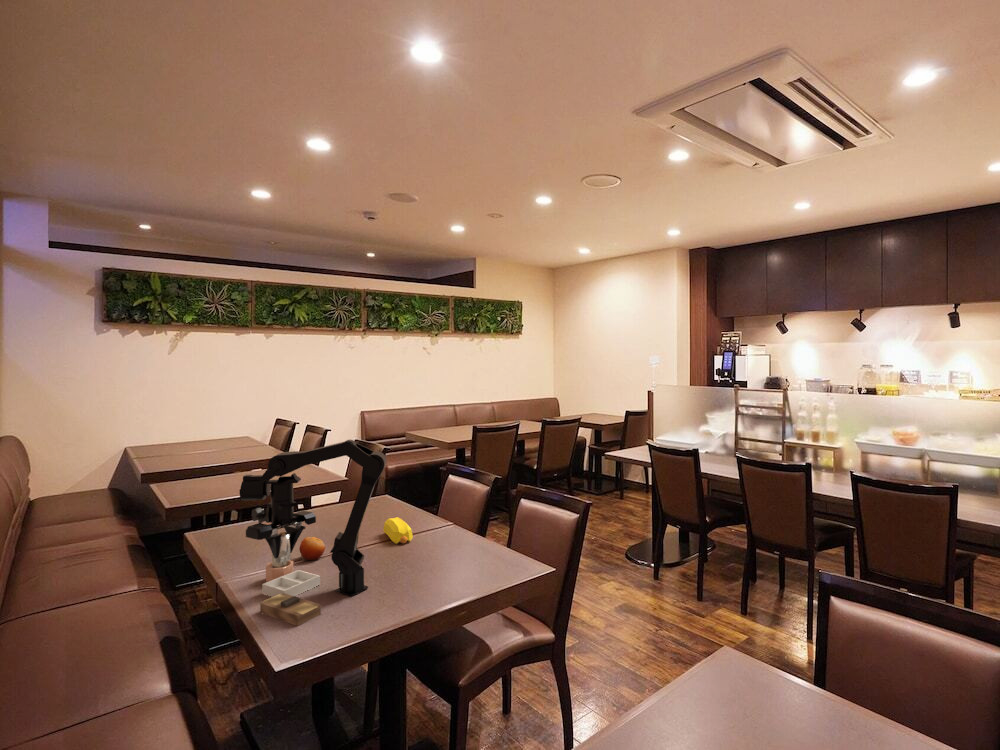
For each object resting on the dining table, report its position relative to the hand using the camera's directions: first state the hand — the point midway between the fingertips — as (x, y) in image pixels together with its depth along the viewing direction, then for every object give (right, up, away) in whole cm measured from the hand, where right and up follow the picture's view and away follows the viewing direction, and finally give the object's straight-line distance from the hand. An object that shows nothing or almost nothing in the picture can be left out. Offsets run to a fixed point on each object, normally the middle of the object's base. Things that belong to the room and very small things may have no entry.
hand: (282, 555), depth 146 cm
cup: (-5, -10, +10) cm, 15 cm away
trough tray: (+1, -11, +3) cm, 11 cm away
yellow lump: (+22, -11, +49) cm, 54 cm away
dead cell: (-5, -10, +10) cm, 15 cm away
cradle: (+7, -11, -12) cm, 17 cm away
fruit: (-2, -11, +27) cm, 29 cm away
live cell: (0, -1, 0) cm, 1 cm away
